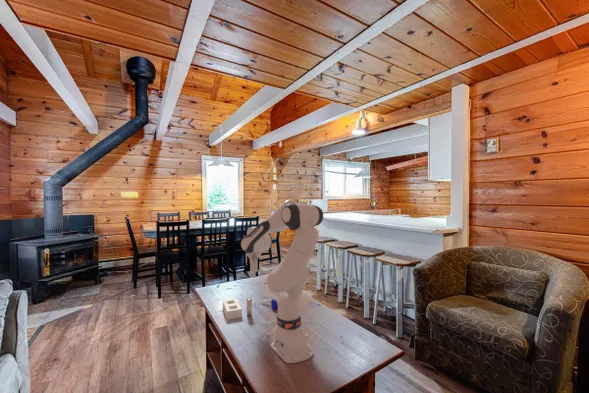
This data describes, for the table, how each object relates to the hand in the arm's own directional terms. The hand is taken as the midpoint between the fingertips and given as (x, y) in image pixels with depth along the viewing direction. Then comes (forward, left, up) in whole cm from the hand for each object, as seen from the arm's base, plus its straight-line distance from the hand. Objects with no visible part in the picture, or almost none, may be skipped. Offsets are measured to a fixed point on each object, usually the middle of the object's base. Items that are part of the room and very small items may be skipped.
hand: (253, 274), depth 157 cm
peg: (0, +2, -25) cm, 25 cm away
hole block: (+8, +11, -25) cm, 29 cm away
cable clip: (+6, -19, -26) cm, 32 cm away
